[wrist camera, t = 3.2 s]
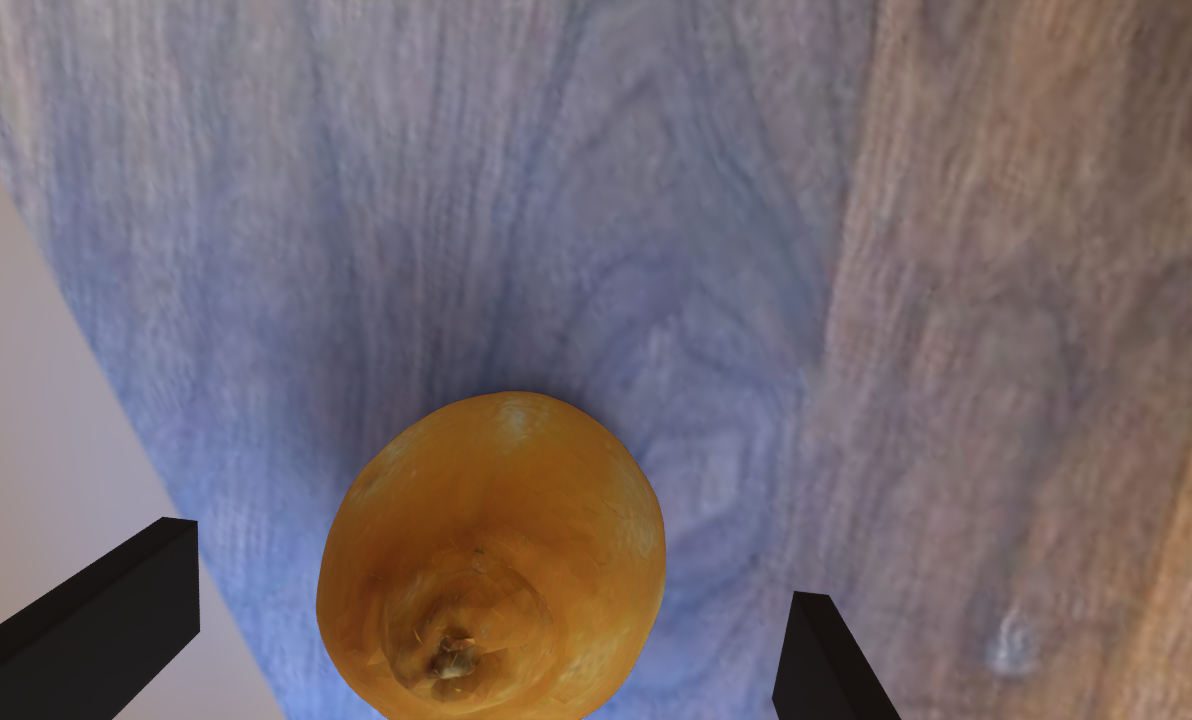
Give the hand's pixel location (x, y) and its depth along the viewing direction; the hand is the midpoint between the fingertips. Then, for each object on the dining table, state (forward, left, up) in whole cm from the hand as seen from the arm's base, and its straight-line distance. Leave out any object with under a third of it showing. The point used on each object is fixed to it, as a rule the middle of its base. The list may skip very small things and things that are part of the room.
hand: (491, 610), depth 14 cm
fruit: (0, 0, -5) cm, 5 cm away
